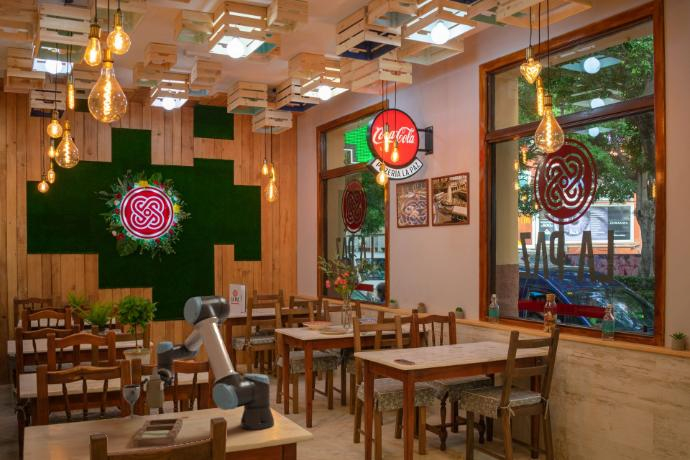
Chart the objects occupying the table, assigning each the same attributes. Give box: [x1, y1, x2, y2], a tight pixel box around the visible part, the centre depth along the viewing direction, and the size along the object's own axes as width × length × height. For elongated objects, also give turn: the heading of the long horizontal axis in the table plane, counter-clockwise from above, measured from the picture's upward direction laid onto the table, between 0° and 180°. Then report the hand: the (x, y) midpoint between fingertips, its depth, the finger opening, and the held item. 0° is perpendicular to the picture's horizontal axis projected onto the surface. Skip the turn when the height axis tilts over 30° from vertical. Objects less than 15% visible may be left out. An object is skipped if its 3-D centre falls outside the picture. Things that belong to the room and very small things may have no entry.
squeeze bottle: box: [145, 366, 166, 410], centre depth 294 cm, size 8×8×18 cm
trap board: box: [132, 417, 183, 448], centre depth 285 cm, size 32×16×3 cm, turn 7°
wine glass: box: [122, 384, 141, 420], centre depth 319 cm, size 8×8×15 cm
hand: (152, 387), depth 289 cm, fingers closed on squeeze bottle, 6 cm apart
